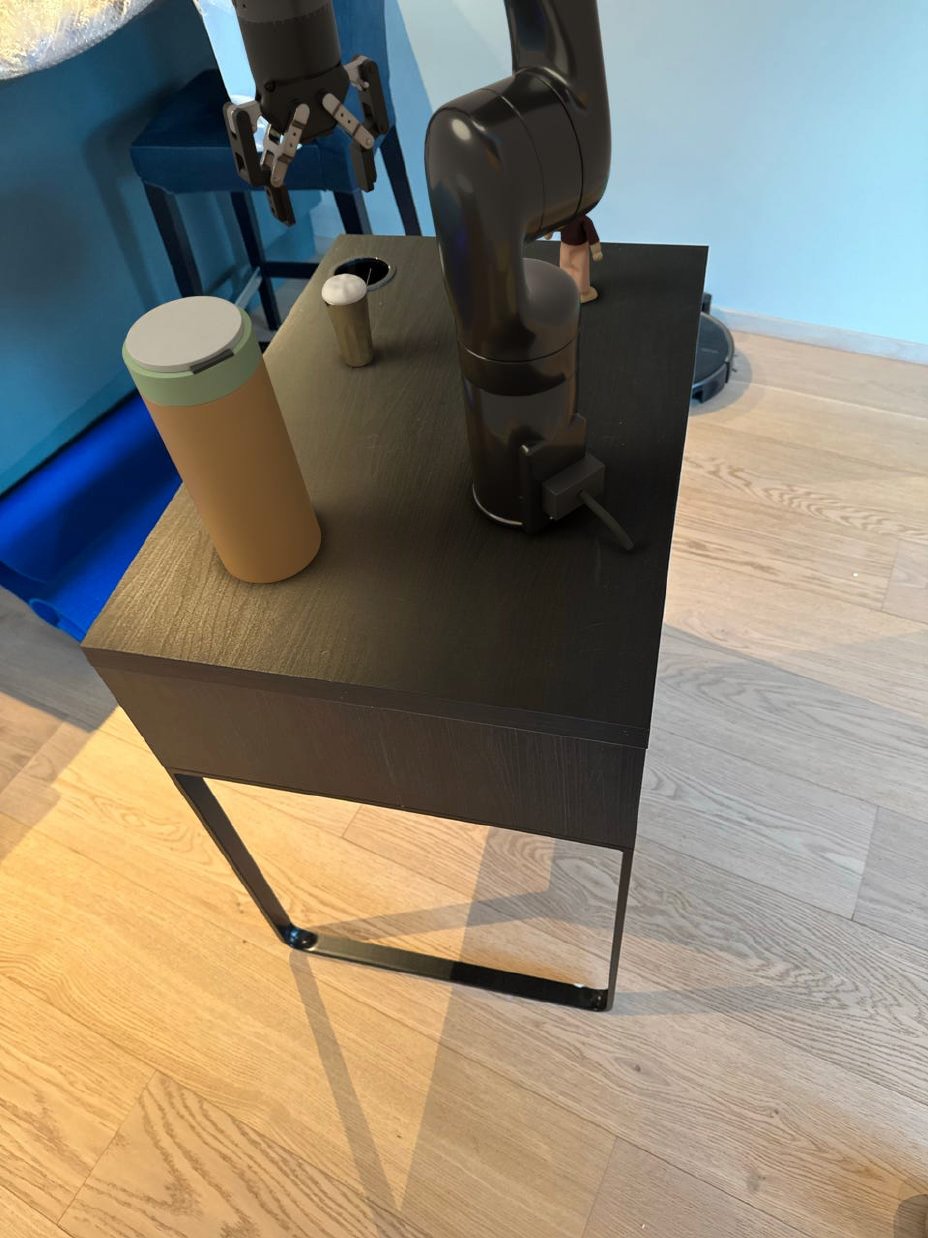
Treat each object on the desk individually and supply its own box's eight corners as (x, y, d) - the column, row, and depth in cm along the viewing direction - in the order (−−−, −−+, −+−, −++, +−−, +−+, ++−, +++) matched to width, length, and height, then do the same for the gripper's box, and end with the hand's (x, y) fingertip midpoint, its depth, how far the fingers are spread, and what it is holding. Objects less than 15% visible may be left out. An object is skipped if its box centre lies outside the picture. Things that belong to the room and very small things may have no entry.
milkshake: (385, 369, 89) (368, 282, 81) (335, 372, 89) (314, 286, 81) (388, 343, 91) (372, 256, 83) (340, 346, 92) (320, 260, 84)
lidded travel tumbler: (204, 541, 76) (98, 328, 58) (290, 494, 78) (213, 276, 61) (250, 600, 71) (149, 388, 54) (340, 548, 74) (272, 329, 56)
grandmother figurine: (611, 291, 94) (618, 175, 83) (596, 309, 92) (600, 192, 82) (551, 275, 96) (550, 161, 86) (534, 293, 95) (531, 178, 85)
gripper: (222, 38, 61) (280, 250, 74) (384, -19, 65) (413, 191, 78) (178, 14, 65) (241, 219, 78) (335, -39, 69) (370, 164, 82)
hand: (327, 205), depth 78 cm, fingers open, 8 cm apart
